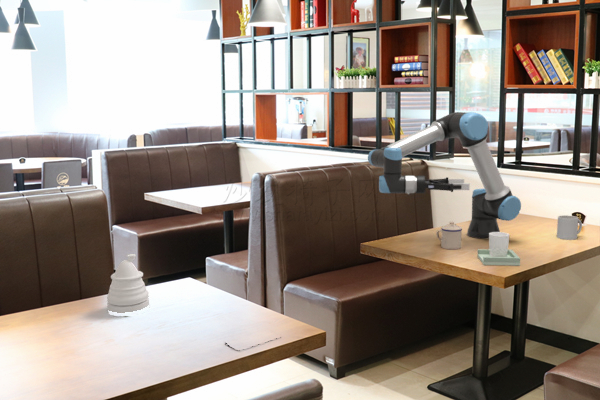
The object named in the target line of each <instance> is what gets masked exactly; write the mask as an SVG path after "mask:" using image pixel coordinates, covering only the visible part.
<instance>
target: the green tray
mask: <svg viewBox="0 0 600 400" xmlns="http://www.w3.org/2000/svg"><path fill="white" fill-rule="evenodd" d="M489 252H490V251H489V248H488V249H487V248H486V249H485V248H482V249H481V248H477V253H476V254H477V258H478V259H479V260H480V262H481V263H482V265H483V266H514V267H516V266H519V267H520V266H521V258H520V256H519V255H518V254H517V253H516V252H515V251H514V250H513V249H508V252H507V257H490V256H489Z"/></svg>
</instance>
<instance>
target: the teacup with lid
mask: <svg viewBox="0 0 600 400" xmlns="http://www.w3.org/2000/svg"><path fill="white" fill-rule="evenodd" d="M462 230H463V228H462V227H461V226H460V225H457V224H455V222H454V221H449V223H447V224H445V225H442V226H441V228H440V229H438V230H437V231H436V233H435V234H436V238H437V239H438V240H439V241H440V244H441V245H440V246H441V248H443V249H445V250H459V249H461V248H462V232H463V231H462ZM439 232H440V233H441V237H440V233H439Z"/></svg>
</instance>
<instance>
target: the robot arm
mask: <svg viewBox="0 0 600 400" xmlns="http://www.w3.org/2000/svg"><path fill="white" fill-rule="evenodd" d="M488 129H489V123H488V121H487V119H486V117H485V116H484V115H482V114H481V113H477V112H473V111H469V112H461V111H460V112H459V111H455V112H452V113H449V114H447V115H445V116H443V117H441V118H438V119H436V120H434V121H432V122H431V124H430V125H429V126H426V127H425V128H423V129H420V130H418V131H416V132H414V133H412V134H409V135H407V136H406V137H403V138H400V139H399V140H397V141H395V142H393V143H390V144H389V145H387V146H383V147H382V148H379V149H377V148H376V149H372V150H371V151H369V153H368V156H367V162H368V164H369V165H371V166H374V167H376V168H382V169H383V174H382V175H380V176H379V177H378V190H379V192H380V193H382V194H407V195H410V194H415V193H416V194H425V193H426V189H428V190H429V191H432V190H433V191H448V192H449V191H450V192H451V193H454V191H470V187H471V186H470V183H465V179H464V178H449V177H445V178H434V179H433V178H432V179H426V176H425V175H416V176H415V175H402V168H403V167H402V166H403V165H402V163H403V157H405V156H407V155H410V154H411V153H414V152H416V151H418V150H419V151H420V149H423V148H424V147H427V146H429V145H431V144H433V143H436V142H438V141H439V142H442V141H445V140H448V139H458V140H459V141H460V144H461V146H462V148H465V149H467V151H468V154H469V156H470V158H471V161H472V162H473V165H474V168H475V169H476V172H477V174H478V176H479V179H480V181H481V183H482V185H483V188H475V189H473V191H472V196H471V200H472V201H471V220H470V222H469V225H468V228H467V234H466V235H467V236H468V237H470V238H471V237H472V238H475V239H488V240H489V233H491V232H501V229H500V228H499V224H498V221H497V219H498V220H501V221H512V220H514V219H515V218H517V216H518V215H519V214H520V211H521V210H522V209H521V208H522V203H521V199H520V198H518V197H517V196H516V195H513V193H512V190H511V189H510V187H509V186H507V185H505V183H504V181H503V178H502V176H501V174H500V171H499V169H498V167H497V164H496V162H495V159H494V157H493V155H492V152H491V150H490V147H489V145H488V143H487V139H488V137H489V135H488V132H489V131H488Z"/></svg>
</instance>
